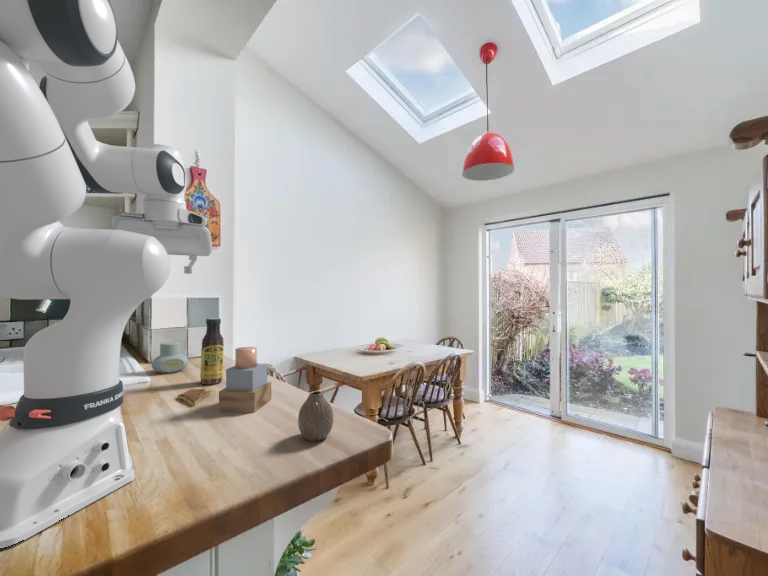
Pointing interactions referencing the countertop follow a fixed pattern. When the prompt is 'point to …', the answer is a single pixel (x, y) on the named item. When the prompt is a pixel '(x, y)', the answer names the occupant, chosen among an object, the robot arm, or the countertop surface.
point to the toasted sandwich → (195, 395)
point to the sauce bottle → (212, 353)
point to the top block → (246, 378)
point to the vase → (315, 417)
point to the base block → (244, 399)
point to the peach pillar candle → (245, 357)
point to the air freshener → (169, 358)
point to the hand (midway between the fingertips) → (166, 273)
